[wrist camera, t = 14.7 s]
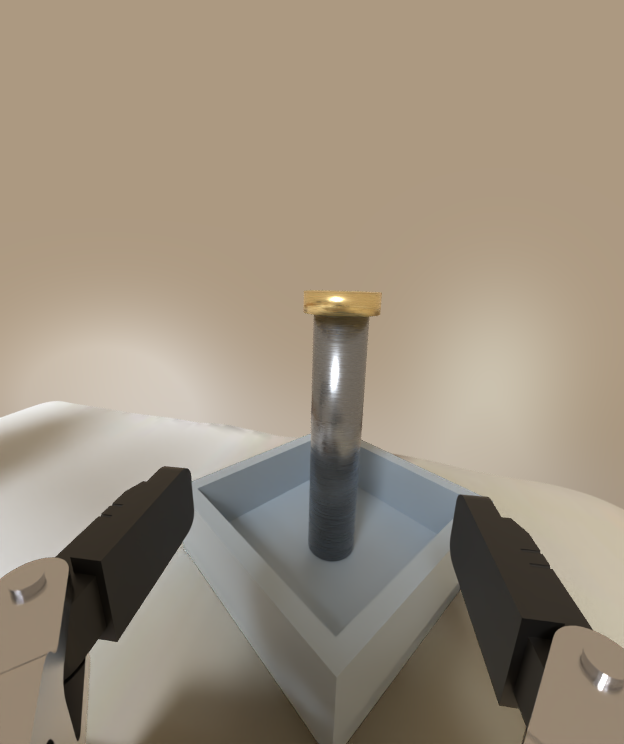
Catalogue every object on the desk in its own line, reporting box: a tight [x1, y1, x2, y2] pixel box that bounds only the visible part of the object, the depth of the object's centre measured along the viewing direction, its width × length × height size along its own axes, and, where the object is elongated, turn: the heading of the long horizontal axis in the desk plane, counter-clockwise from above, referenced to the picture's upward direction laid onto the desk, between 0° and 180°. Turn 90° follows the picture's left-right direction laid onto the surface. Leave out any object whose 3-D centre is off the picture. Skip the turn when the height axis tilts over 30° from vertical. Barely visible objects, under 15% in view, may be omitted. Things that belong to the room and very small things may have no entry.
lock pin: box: [304, 290, 382, 561], centre depth 21 cm, size 4×4×17 cm
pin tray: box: [183, 434, 493, 744], centre depth 23 cm, size 15×15×5 cm
